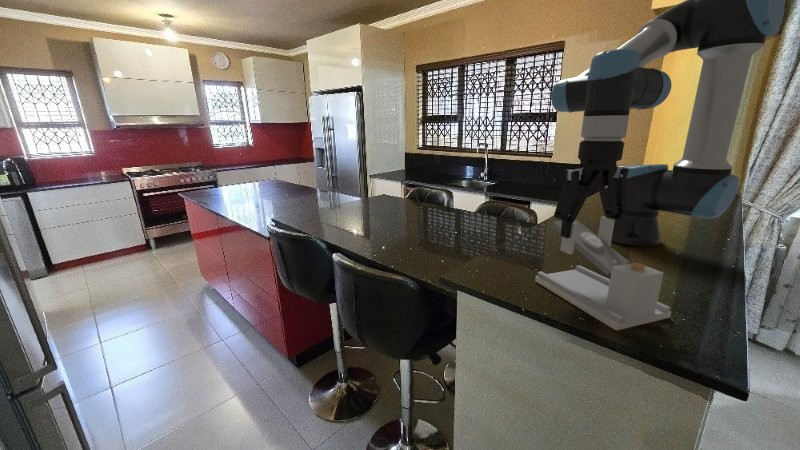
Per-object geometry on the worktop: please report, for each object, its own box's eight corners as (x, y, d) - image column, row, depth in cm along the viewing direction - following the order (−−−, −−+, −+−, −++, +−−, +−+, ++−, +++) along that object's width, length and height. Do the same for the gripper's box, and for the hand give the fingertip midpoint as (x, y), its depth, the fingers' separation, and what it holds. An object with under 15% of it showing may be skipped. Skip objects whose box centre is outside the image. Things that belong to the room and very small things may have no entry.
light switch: (612, 267, 63) (554, 218, 72) (593, 288, 67) (540, 238, 75) (633, 259, 68) (576, 214, 77) (614, 278, 71) (562, 233, 80)
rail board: (580, 273, 82) (585, 232, 79) (670, 317, 63) (682, 265, 60) (535, 281, 78) (539, 238, 75) (616, 330, 59) (626, 276, 56)
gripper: (626, 138, 72) (609, 239, 78) (541, 139, 66) (530, 249, 72) (662, 139, 65) (640, 249, 71) (571, 140, 59) (556, 262, 65)
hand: (585, 249), depth 71 cm, fingers closed on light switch, 9 cm apart
